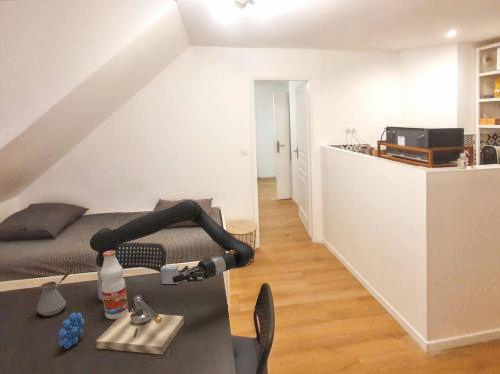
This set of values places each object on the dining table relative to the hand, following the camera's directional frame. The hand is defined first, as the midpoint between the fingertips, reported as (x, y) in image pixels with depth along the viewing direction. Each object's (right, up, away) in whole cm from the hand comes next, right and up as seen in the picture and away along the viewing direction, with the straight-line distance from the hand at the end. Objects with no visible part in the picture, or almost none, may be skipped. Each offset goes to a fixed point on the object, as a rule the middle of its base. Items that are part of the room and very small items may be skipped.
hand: (173, 280), depth 137 cm
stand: (-12, -21, +1) cm, 25 cm away
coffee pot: (-57, -19, +27) cm, 66 cm away
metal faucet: (-9, -18, 0) cm, 20 cm away
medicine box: (-11, -13, +45) cm, 49 cm away
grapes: (-37, -24, -2) cm, 44 cm away
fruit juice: (-28, -19, +18) cm, 39 cm away
